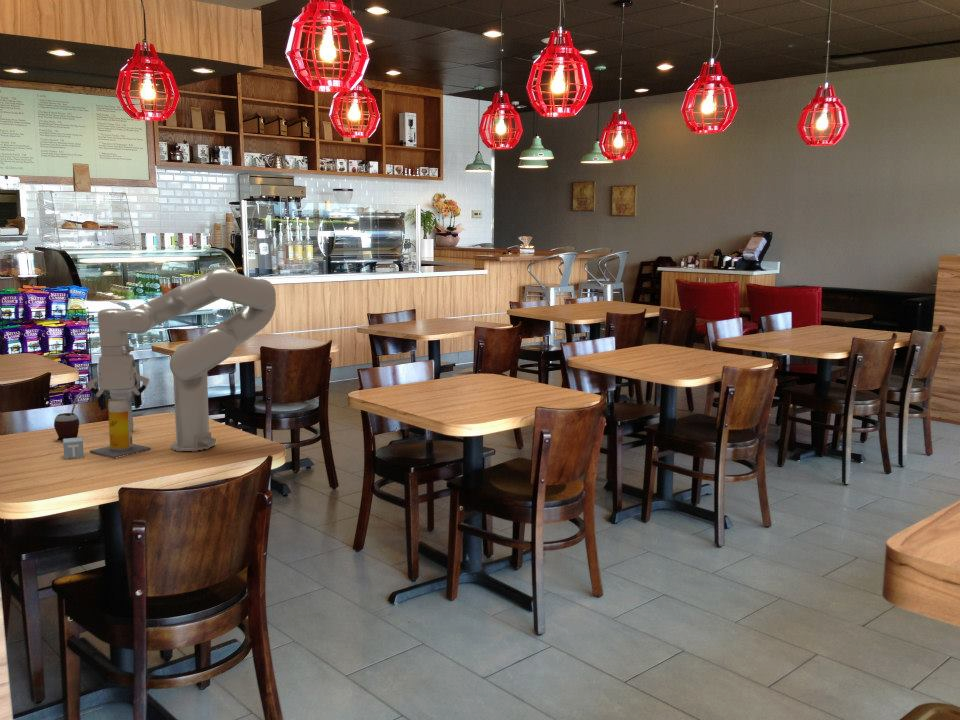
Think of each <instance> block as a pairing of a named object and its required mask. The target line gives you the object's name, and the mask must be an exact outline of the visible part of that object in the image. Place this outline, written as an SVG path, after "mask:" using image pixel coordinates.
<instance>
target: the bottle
mask: <svg viewBox="0 0 960 720" xmlns="http://www.w3.org/2000/svg"><path fill="white" fill-rule="evenodd" d="M109 395H110V396H109V397H110V399H113V398H128V399H129V401H130V404H131V425H132V431H133V430H134V416H133V405H132V396H133V391H132V390H131V389H126V390H109Z"/></svg>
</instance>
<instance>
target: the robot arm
mask: <svg viewBox="0 0 960 720" xmlns="http://www.w3.org/2000/svg"><path fill="white" fill-rule="evenodd" d="M276 297H277V293H276V289H275V286H274V284H273V283H271V282H270V281H269V280H266V279H263V278H261V279H260V278H259V279H257V278H254V277H250V276H246V275H243V274H242V273H241V274H240V273H237V272H235V271H233V270H231V269H230V268H227V267H219V268H215V269H213V270H210V271H209V272H206V273H204V274H202V275H200V276H197V277H196V278H194V279H191V280H189V281H187V282H185V283H182V284H179V285H178V286H176V287H175V288H173V289H171V290H169V291H168V292H166V293H164V294H162V295H160V296H158V297H156V298H154V299H153V298H152V299H150V301H149V300H148V301H147V302H145V303H143V304H140V305H138V306H136V307H134V308H131V309H125V310H124V309H122V308H106V309H101V310H99V311H98V312H97V325H98V334H99V344H100V354H101V355H100V356H99V358H98V364H97V365H98V368H97V370H98V371H97V373H98V374H97V376H95V377H94V378H92V379H91V380H89V381H87V382H86V385H87V387H88V388H89V390H90V392H91V393H92V394H93V395H95V397H97V403H98V407H99V408H100V411H104V410H105V409H107V402H106V395H105V392H106V391H110V390H126V389H131V390H132V393H134V395H133V399H134V400H133V401H134V409H139V408H140V407H141V405H142V404H143V403H142V393H143V392H144V391H145V390H146V389H147V387H148V384H149V382H150V379H149V378H148V377H145V376H143V375H141V374H138V371H137V365H136V362H135V357H134V355H133V354H131V352H134V351H135V347H134V346H131V345H130V344H129V335H128V334H136V335H140V334H145V333H147V332H149V331H150V330H151V329H152V328H154V327H156V326H158V325H161V324H164V323H165V322H167V321H169V320H171V319H174V318H177V317H179V316H182V315H188V314H190V313H194V312H196V311H198V310H199V309H202V308H203V307H206V306H208V305H210V304H213V303H215V302H216V301H219V300H221V299H222V300H225V301H229V302H231V303H234V304H239V305H241V306H244V307H242V309H240V310H238V311H237V312H235V313H234V314H232V315H231V316H229V317H228V318H226V319H225V320H223V321H221V322H219V323H217V324H215V325H213V326H212V327H209V329H208V330H207V331H206V332H205V333H203V334H202V335H200V336H199V337H197V338H196V339H194V340H192V341H190V342H189V343H184V344H181V345H180V346H178V347H177V348H176V349H175V351H174V352H173V353H172V355H171V358H170V359H169V368H170V371H171V374H173V394H174V395H173V396H174V399H173V400H174V416H175V418H174V419H175V437H176V438H175V439H176V441H174V442H172V443H171V445H170V448H171V450H173V451H175V450H176V452H182V451H192V452H199V451H198V450H201V451H204V450H203V449H206V450H208V449H207V448H210V447H212V446H214V445H215V446H216V441H217V439H216V438H215V437H212V432H210V420H209V419H210V415H209V413H210V412H209V394H208V393H209V390H208V372H209V371H210V370H212V369H213V368H215V367H216V366H218V365H219V364H221V363H223V362H224V361H226V360H227V359H229V358H230V356H232V355H233V354H234V352H235V351H236V349H237V348H238V347H239V346H240V345H242V344H243V343H244V342H247V341H248V340H249V339H251V338H252V337H254V336H255V335H256V334H258V333H259V332H260V331H262V330H263V329H264V328H266V326H267V325H268V324H269V323H270V321H271V320H272V318H273V316H274V314H275V310H276V307H277V306H276V305H277V298H276ZM139 381H140V382H142V385H141V386H140V387H139V386H138V385H139ZM97 382H98V388H99V389H98V388H97V387H96V386H95V383H97ZM215 446H214V447H215ZM212 448H213V447H212ZM210 449H211V448H210Z"/></svg>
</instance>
